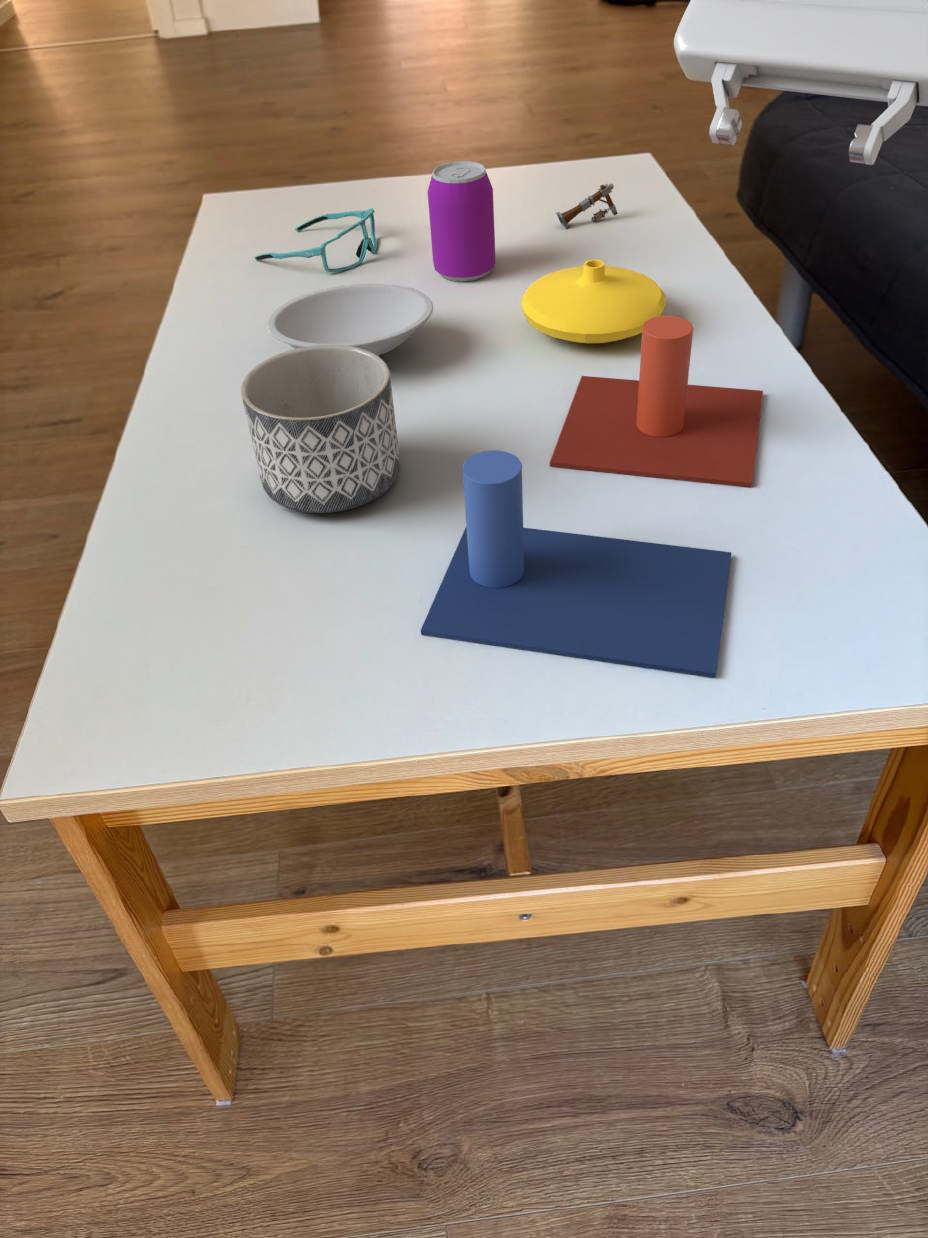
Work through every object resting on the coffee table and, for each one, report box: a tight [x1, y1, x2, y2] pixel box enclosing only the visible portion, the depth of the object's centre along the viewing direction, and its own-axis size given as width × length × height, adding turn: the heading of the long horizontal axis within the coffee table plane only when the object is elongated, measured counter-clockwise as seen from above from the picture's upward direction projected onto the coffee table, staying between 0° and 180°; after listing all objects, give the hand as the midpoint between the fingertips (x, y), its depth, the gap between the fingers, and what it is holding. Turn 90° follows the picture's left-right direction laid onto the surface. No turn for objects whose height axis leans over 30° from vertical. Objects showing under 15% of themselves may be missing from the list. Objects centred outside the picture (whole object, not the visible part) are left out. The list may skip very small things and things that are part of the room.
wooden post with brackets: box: [555, 183, 619, 230], centre depth 134 cm, size 2×8×4 cm, turn 106°
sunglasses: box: [253, 207, 378, 273], centre depth 132 cm, size 14×15×5 cm
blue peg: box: [462, 449, 524, 588], centre depth 79 cm, size 4×4×10 cm
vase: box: [520, 259, 667, 344], centre depth 111 cm, size 16×16×7 cm
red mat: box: [549, 375, 764, 488], centre depth 97 cm, size 18×16×1 cm
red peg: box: [636, 315, 694, 437], centre depth 93 cm, size 4×4×10 cm
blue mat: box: [420, 526, 732, 679], centre depth 80 cm, size 22×14×1 cm, turn 75°
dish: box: [266, 283, 434, 357], centre depth 110 cm, size 18×14×5 cm
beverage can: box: [427, 160, 496, 282], centre depth 122 cm, size 8×8×12 cm
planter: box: [240, 345, 401, 514], centre depth 90 cm, size 13×13×10 cm
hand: (788, 149), depth 67 cm, fingers open, 8 cm apart
